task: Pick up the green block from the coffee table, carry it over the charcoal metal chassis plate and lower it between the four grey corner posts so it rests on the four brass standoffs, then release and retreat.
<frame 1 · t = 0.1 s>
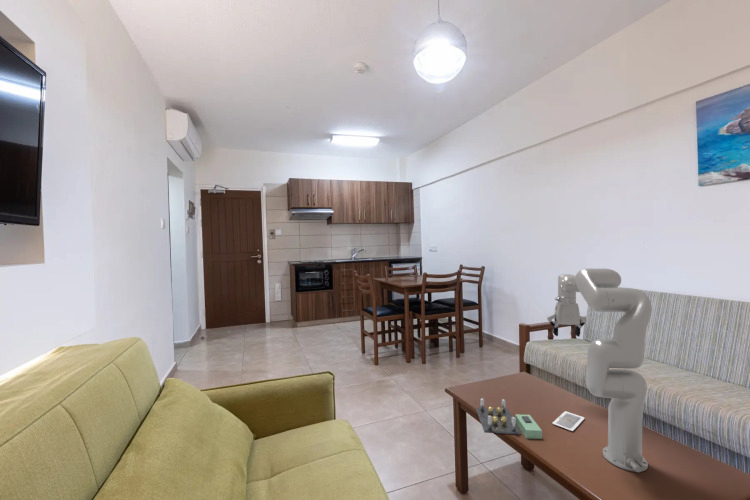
hand: (566, 335, 160), 31 cm above the table, fingers open, 9 cm apart
green block: (528, 430, 135), on the table
chassis: (497, 421, 141), on the table
touchpad: (568, 423, 141), on the table
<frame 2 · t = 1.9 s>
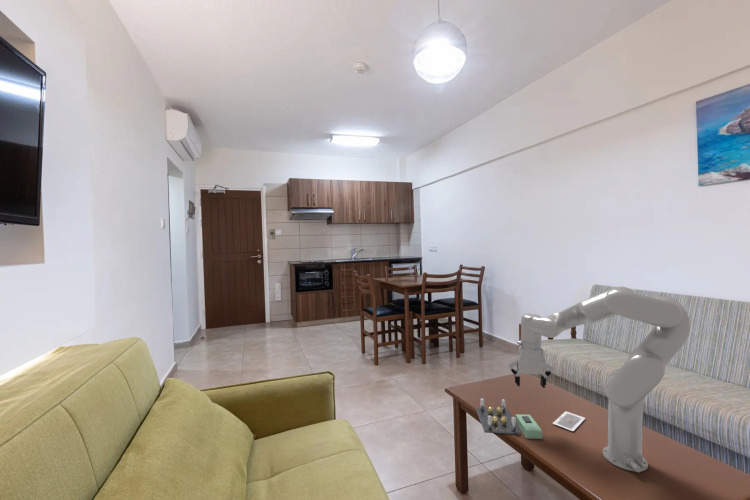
hand: (530, 385, 136), 17 cm above the table, fingers open, 9 cm apart
nothing on the table moved.
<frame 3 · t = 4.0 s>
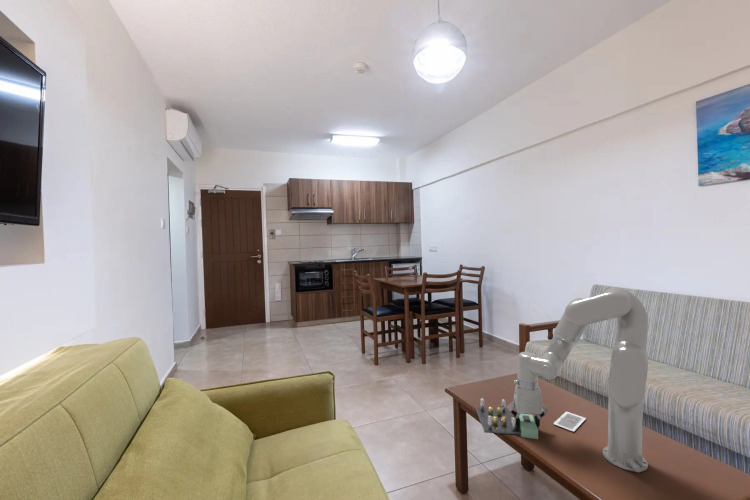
hand: (527, 426, 135), 1 cm above the table, fingers closed on green block, 6 cm apart
green block: (527, 429, 135), on the table, touching gripper
everything else where it was.
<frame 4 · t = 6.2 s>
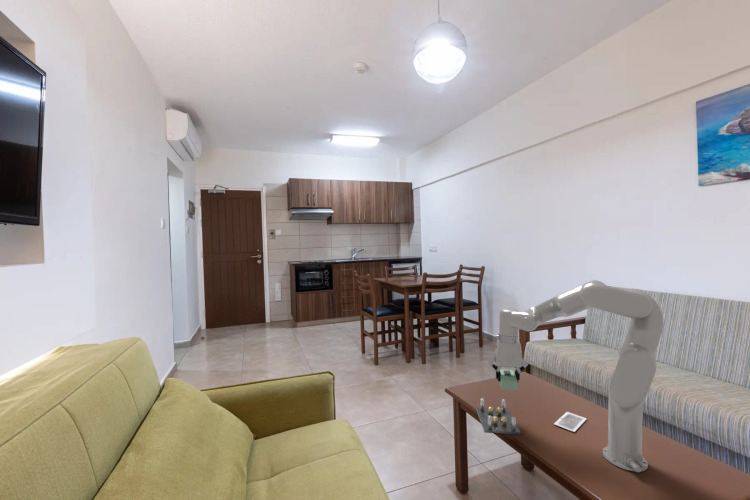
hand: (507, 380, 139), 19 cm above the table, fingers closed on green block, 6 cm apart
green block: (507, 383, 139), point 17 cm above the table, touching gripper
everything else where it was.
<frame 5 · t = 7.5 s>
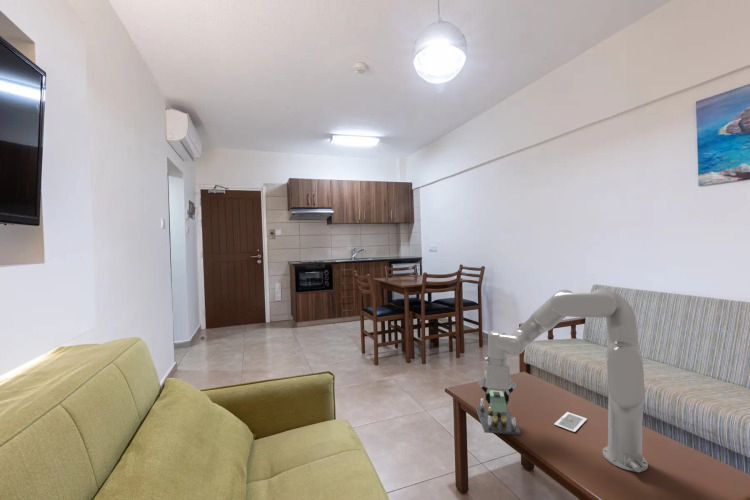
hand: (497, 402, 141), 8 cm above the table, fingers closed on green block, 6 cm apart
green block: (497, 404, 141), point 7 cm above the table, touching gripper
everything else where it was.
when the fingers open (5 cm above the table, at t = 8.6 s): green block stays where it is, resting on chassis.
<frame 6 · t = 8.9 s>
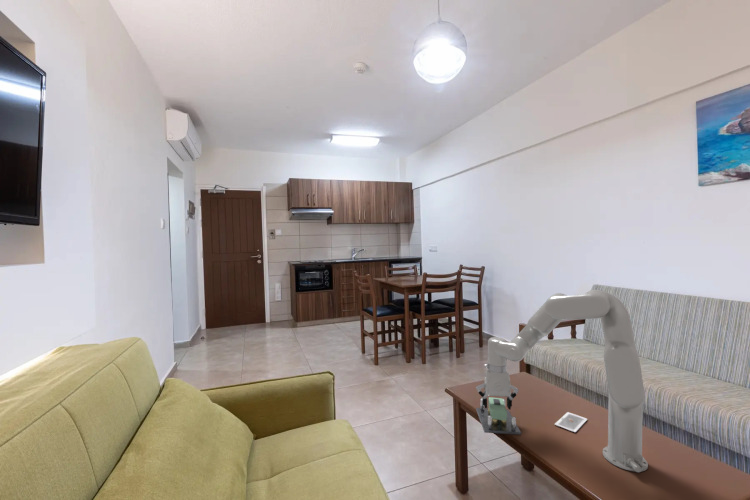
hand: (497, 407, 141), 6 cm above the table, fingers open, 9 cm apart
green block: (497, 412, 141), point 4 cm above the table, touching chassis
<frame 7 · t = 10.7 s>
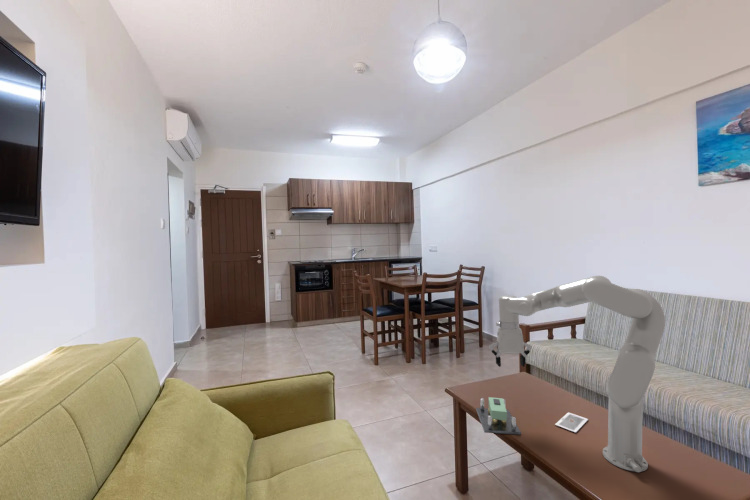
hand: (510, 365, 140), 24 cm above the table, fingers open, 9 cm apart
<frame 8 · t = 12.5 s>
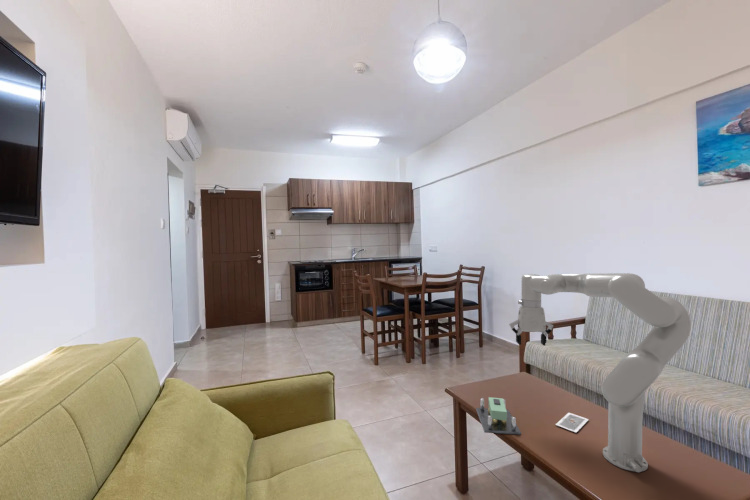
hand: (531, 344, 140), 33 cm above the table, fingers open, 9 cm apart
at the end: green block 0.1 cm off-centre on the chassis, point 4.0 cm above the chassis's base; green block tilted 0°; the gripper is holding nothing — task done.
